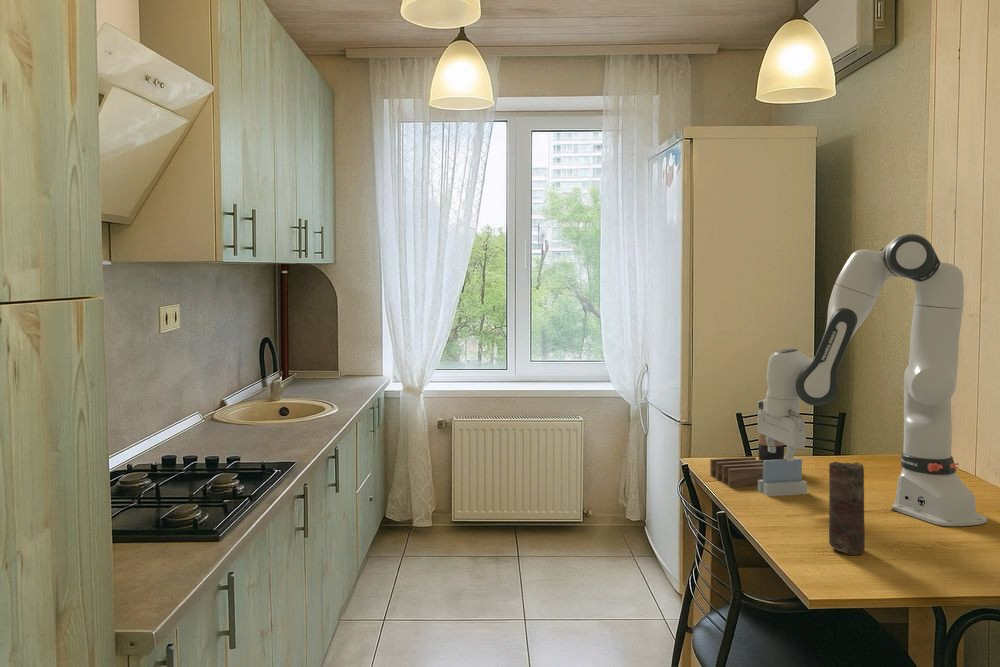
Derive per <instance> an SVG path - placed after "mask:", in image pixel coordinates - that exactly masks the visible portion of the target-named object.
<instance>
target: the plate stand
mask: <svg viewBox="0 0 1000 667" xmlns="http://www.w3.org/2000/svg"><path fill="white" fill-rule="evenodd" d="M756 491H758V492H759V493H761V494H763V495H765V496H767V497H780V496H781V497H782V496H795V495H796V496H797V495H809V492H808V481H805V480H802V481H788V482H772V483H764V493H763V480H758V486H757V488H756Z"/></svg>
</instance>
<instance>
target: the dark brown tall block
mask: <svg viewBox="0 0 1000 667" xmlns="http://www.w3.org/2000/svg"><path fill="white" fill-rule="evenodd" d="M828 467H829V468H828V472H829V476H828V479H829V480H828V482H829V484H828V487H829V488H828V489H829V490H828V493H829V494H828V495H829V496H828V498H829V499H828V502H829V503H828V509H829V510H828V512H829V513H828V541H829V543H828V544H829V545H830V546H831V548H834V549H835V550H837V551H839V552H841V553H844V554H845V555H849V556H850V555H851V556H856V555H859V554H863V553H864V552H865V549H866V546H865V542H866V541H865V536H866V535H865V534H866V533H865V468H864V465H863V464H862V463H860V462H858V461H856V462H851V463H850V462H845V463H844V462H838V461H832V462H830V463H829V464H828Z"/></svg>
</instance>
